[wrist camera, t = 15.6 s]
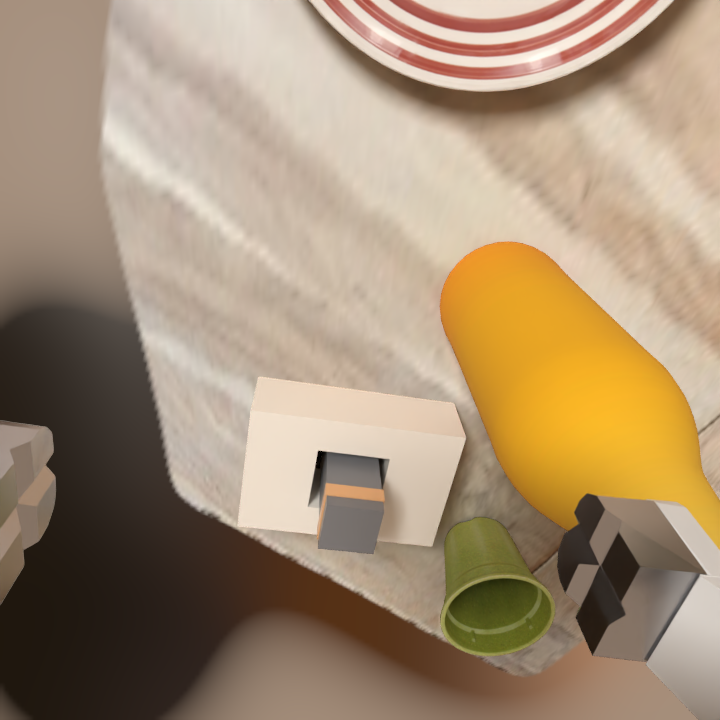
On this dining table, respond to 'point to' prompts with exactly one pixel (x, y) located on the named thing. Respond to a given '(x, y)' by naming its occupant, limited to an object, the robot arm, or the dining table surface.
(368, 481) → the plug
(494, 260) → the beer bottle
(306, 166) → the dining table surface
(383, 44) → the dinner plate
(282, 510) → the socket block
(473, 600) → the plant pot
